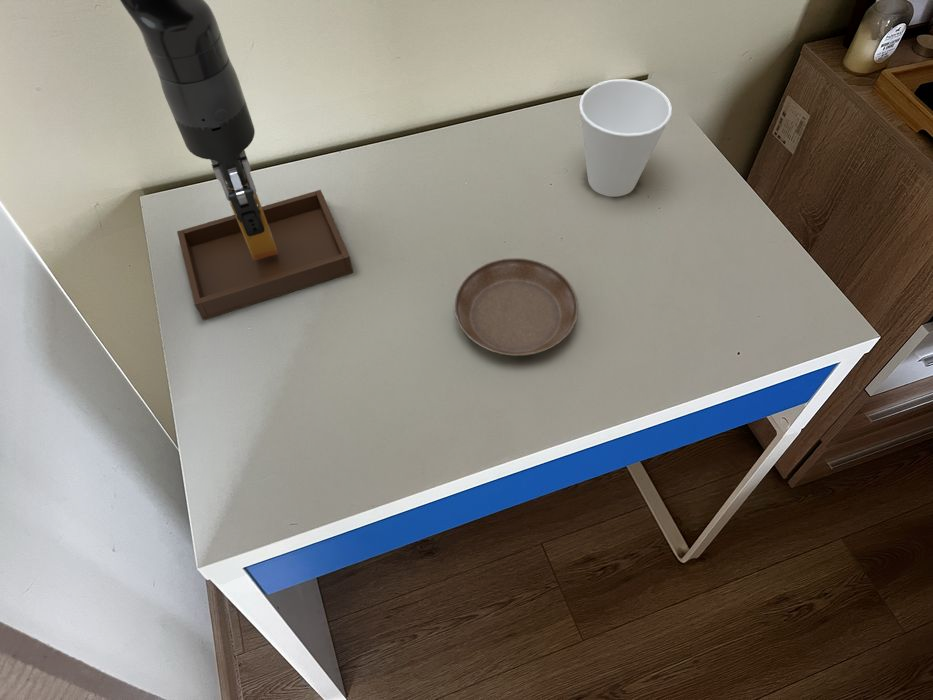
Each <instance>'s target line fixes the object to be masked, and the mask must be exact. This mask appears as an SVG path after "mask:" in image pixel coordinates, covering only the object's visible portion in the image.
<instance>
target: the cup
mask: <svg viewBox="0 0 933 700" xmlns="http://www.w3.org/2000/svg"><path fill="white" fill-rule="evenodd" d="M578 109H579V114H580V120H581V130H582V131H581V132H582V138H583V139H582V140H583V149H584V157H585V165H586V166H585V167H586V173H587V174H586V175H587V181H588V184H589V187H590V188H591V189H592V190H593V191H594V192H596V193H598V194H599V195H602V196H605V197H610V198H611V197H612V198H614V197H622V196H626V195H628V194H630V193H631V192H632V191H633V190H634V189H635V188H636V186H637V183H638V182H639V180H640V177H641V176H642V174H643V172H644V170H645V168H646V165H647V164H648V163H649V160H650V158H651V157H652V154H653V152H654V150H655V148H656V146H657V144H658V142H659V140H660V138H661V137H662V134H663V132H664V130H665V128H666V127H667V125H668V123H669V121H670V120H671V118H672V114H673V107H672V104H671V100H670V99H669V98H668V97H667V95H666V94H665V93H664V92H663V91H662V90H660V89H659V88H658V87H656V86H654V85H652V84H649V83H647V82H644V81H640V80H636V79H629V78H628V79H627V78H617V79H616V78H614V79H608V80H604V81H600V82H598V83H595V84H593V85H591V86H590V87H589V88H587V89H586V90H585V91H584V92H583V94H582V95H581V97H580V99H579V102H578Z"/></svg>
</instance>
